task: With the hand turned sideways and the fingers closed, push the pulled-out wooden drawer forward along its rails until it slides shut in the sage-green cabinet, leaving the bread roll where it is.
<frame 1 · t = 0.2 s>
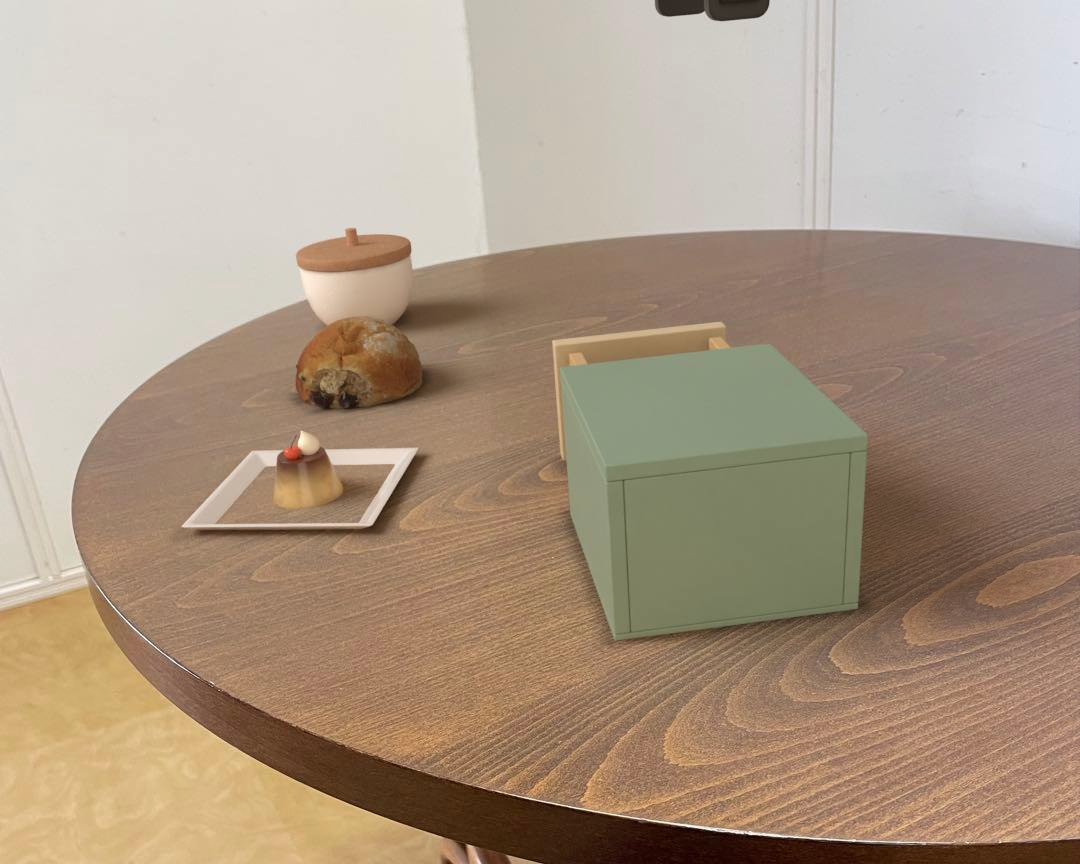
hand: (707, 17, 44), 27 cm above the table, tool pointing down, fingers open, 8 cm apart
trinket box: (365, 329, 109), on the table
bread roll: (362, 397, 91), on the table
dessert: (310, 503, 73), on the table
cabinet: (700, 564, 61), on the table
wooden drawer: (654, 413, 69), point 5 cm above the table, slide at 7.0 cm
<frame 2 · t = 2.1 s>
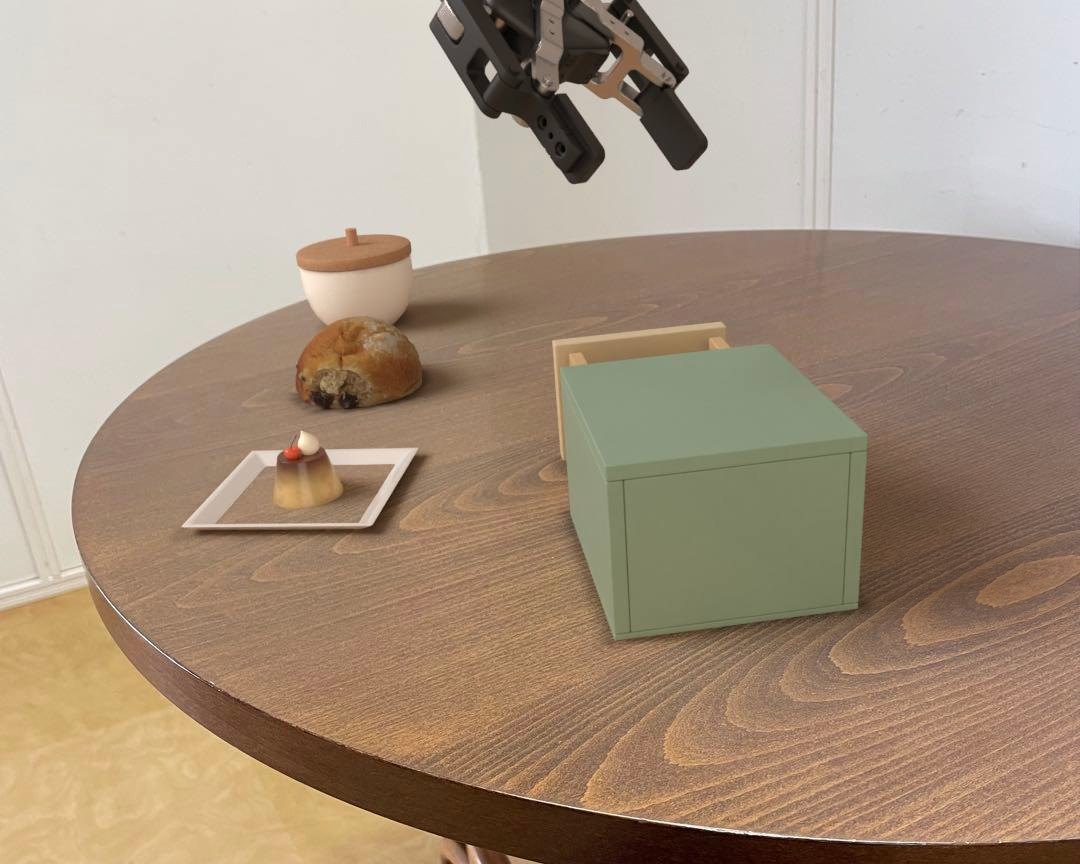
hand: (645, 165, 56), 20 cm above the table, tool tilted 45°, fingers open, 8 cm apart
nothing on the table moved.
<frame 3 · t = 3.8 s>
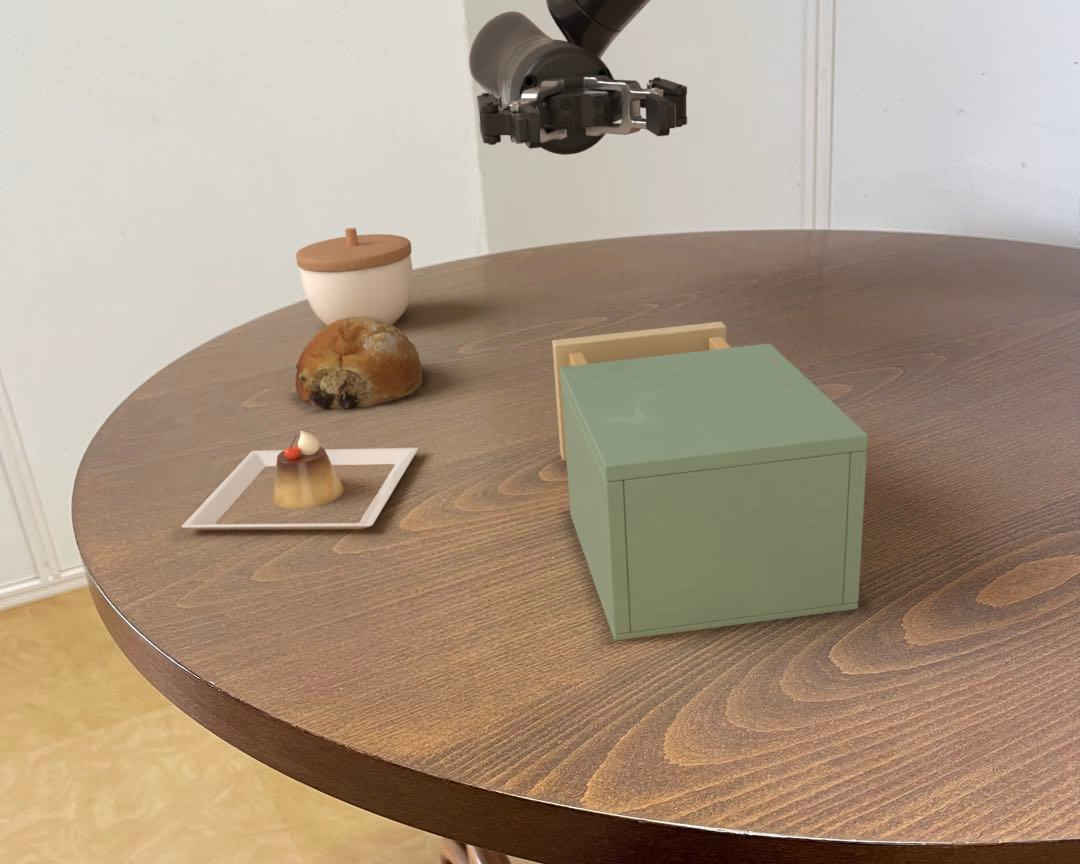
hand: (600, 125, 73), 20 cm above the table, tool horizontal, fingers open, 8 cm apart
nothing on the table moved.
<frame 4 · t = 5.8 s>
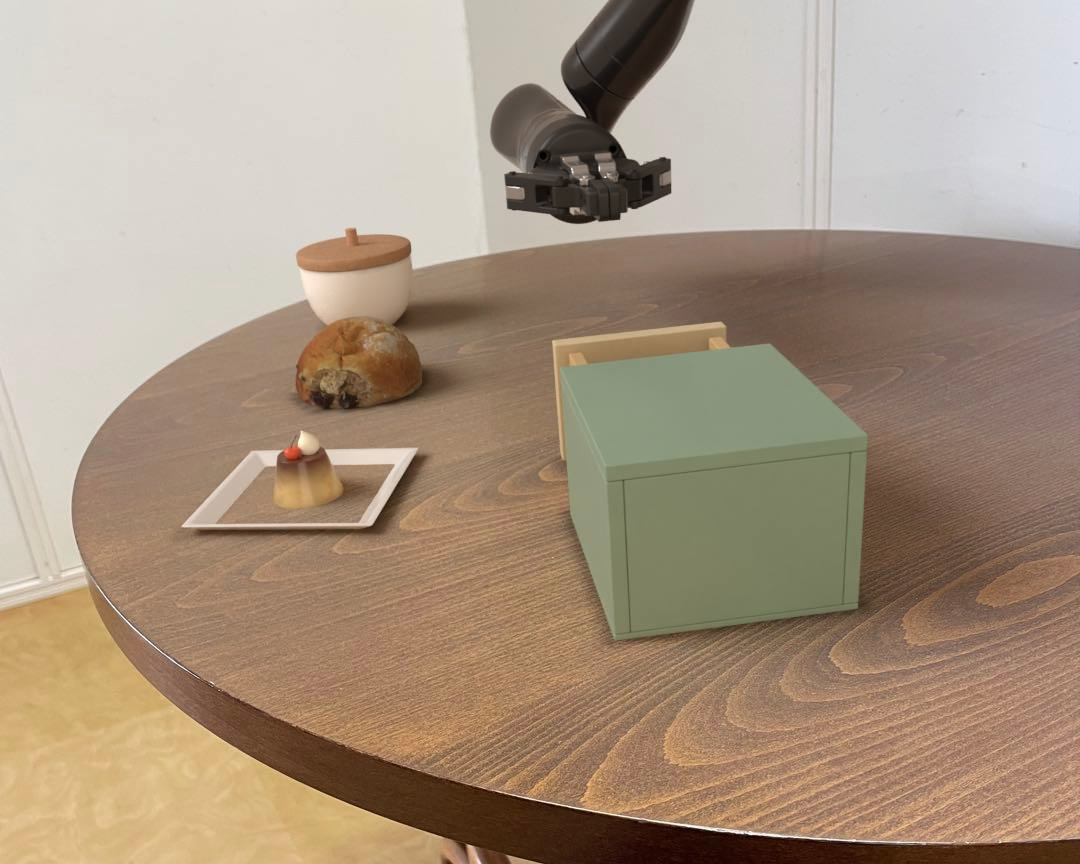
hand: (610, 205, 75), 15 cm above the table, tool horizontal, fingers closed
nothing on the table moved.
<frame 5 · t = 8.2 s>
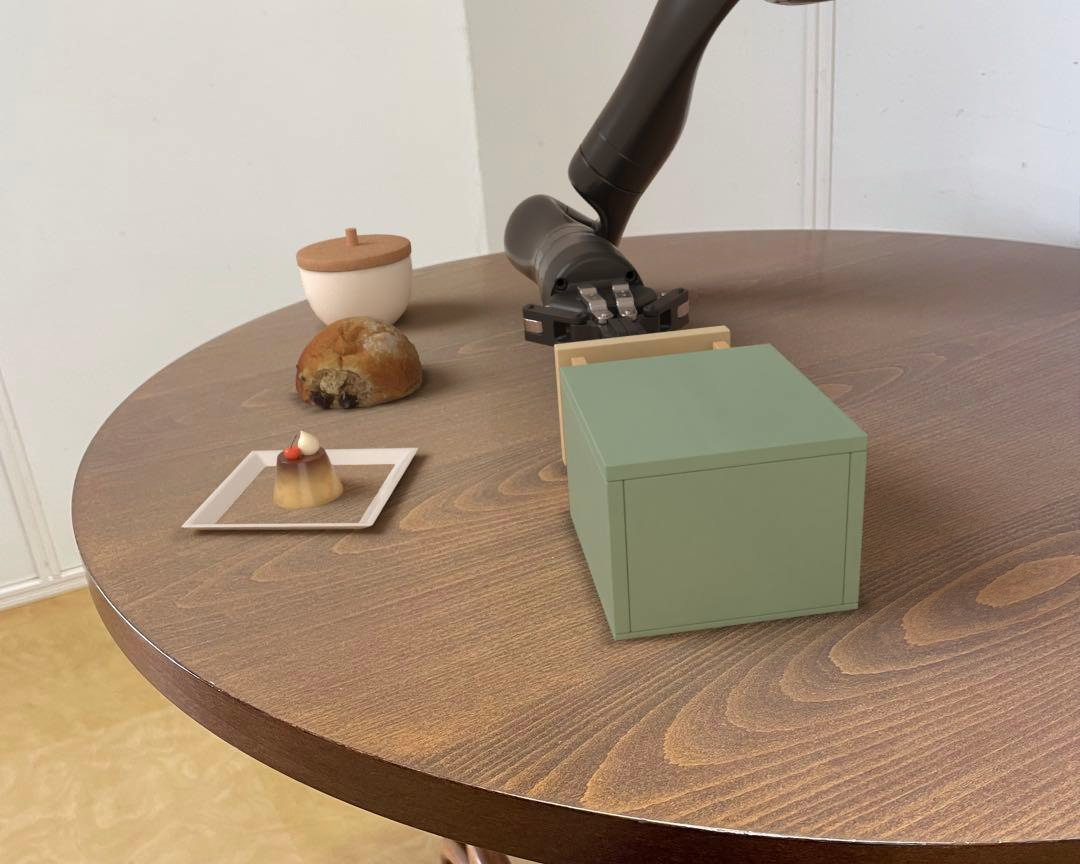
hand: (629, 348, 75), 7 cm above the table, tool horizontal, fingers closed
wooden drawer: (658, 418, 68), point 5 cm above the table, slide at 6.1 cm, touching gripper
everything else where it was.
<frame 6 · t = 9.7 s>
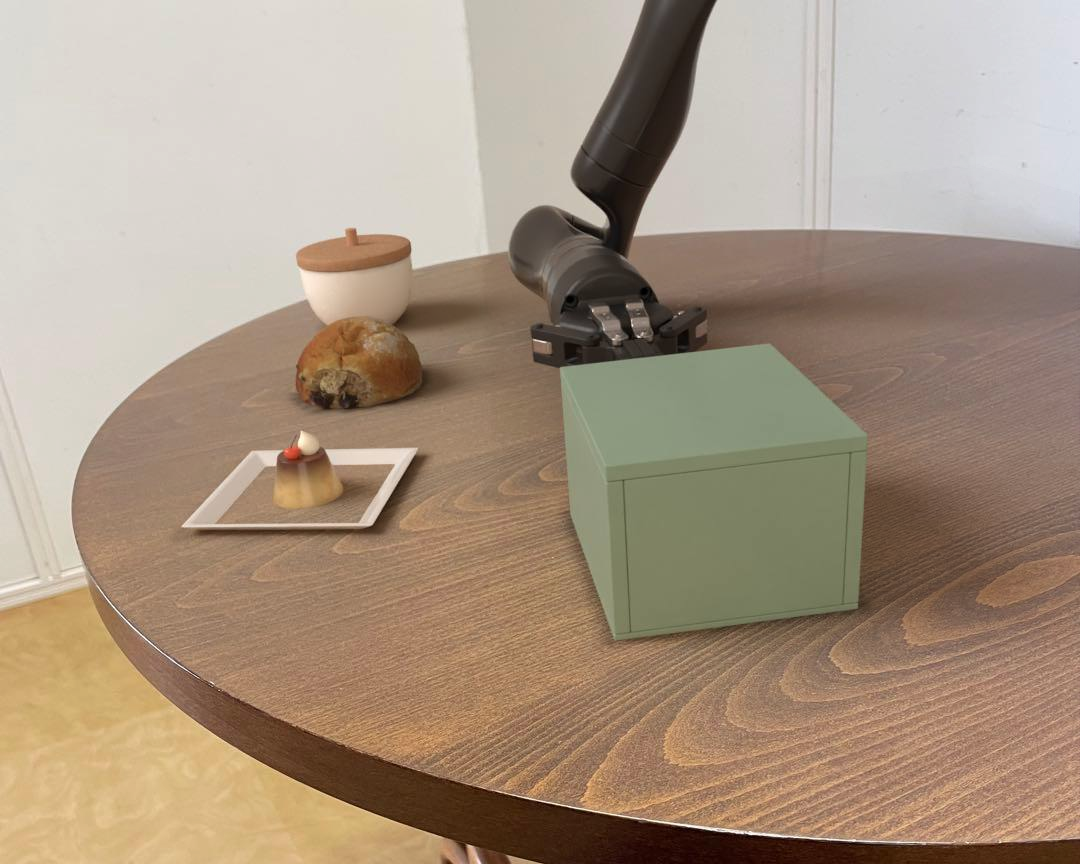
hand: (646, 373, 70), 7 cm above the table, tool horizontal, fingers closed
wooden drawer: (678, 451, 63), point 5 cm above the table, slide at 0.7 cm, touching gripper
everything else where it was.
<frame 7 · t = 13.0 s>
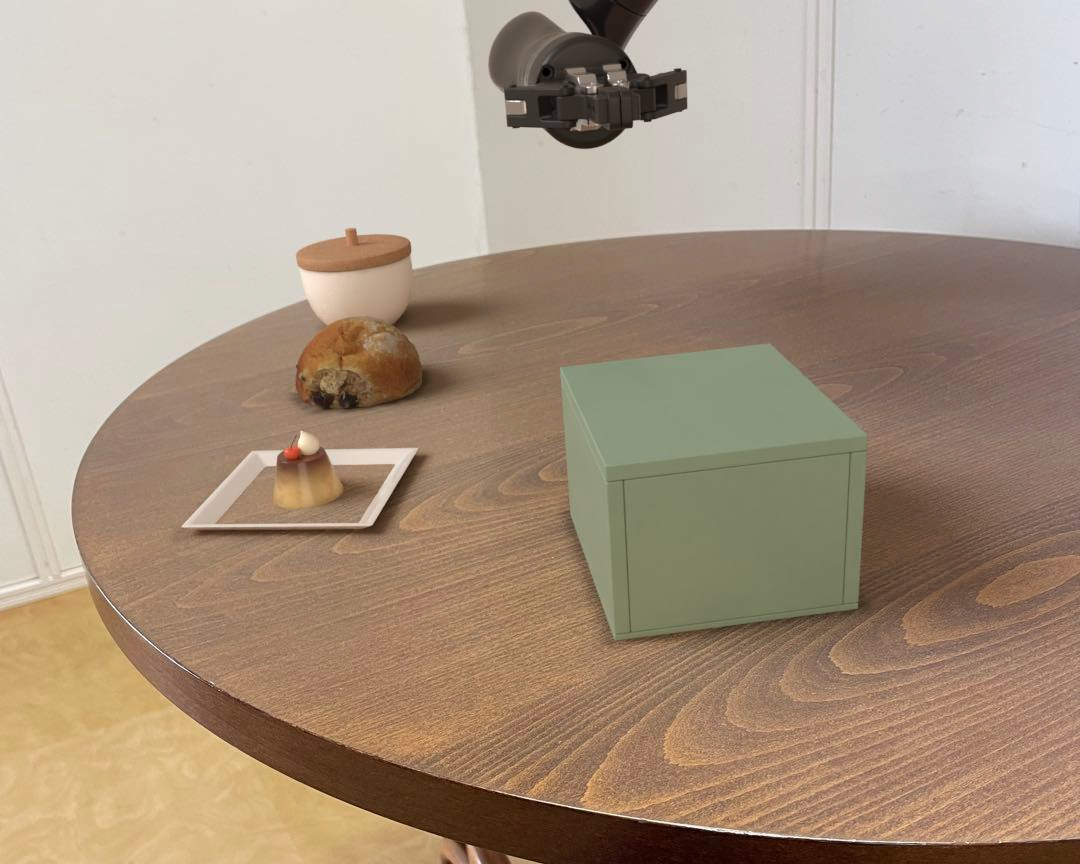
hand: (621, 110, 68), 22 cm above the table, tool horizontal, fingers closed
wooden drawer: (678, 451, 63), point 5 cm above the table, slide at 0.7 cm
everything else where it was.
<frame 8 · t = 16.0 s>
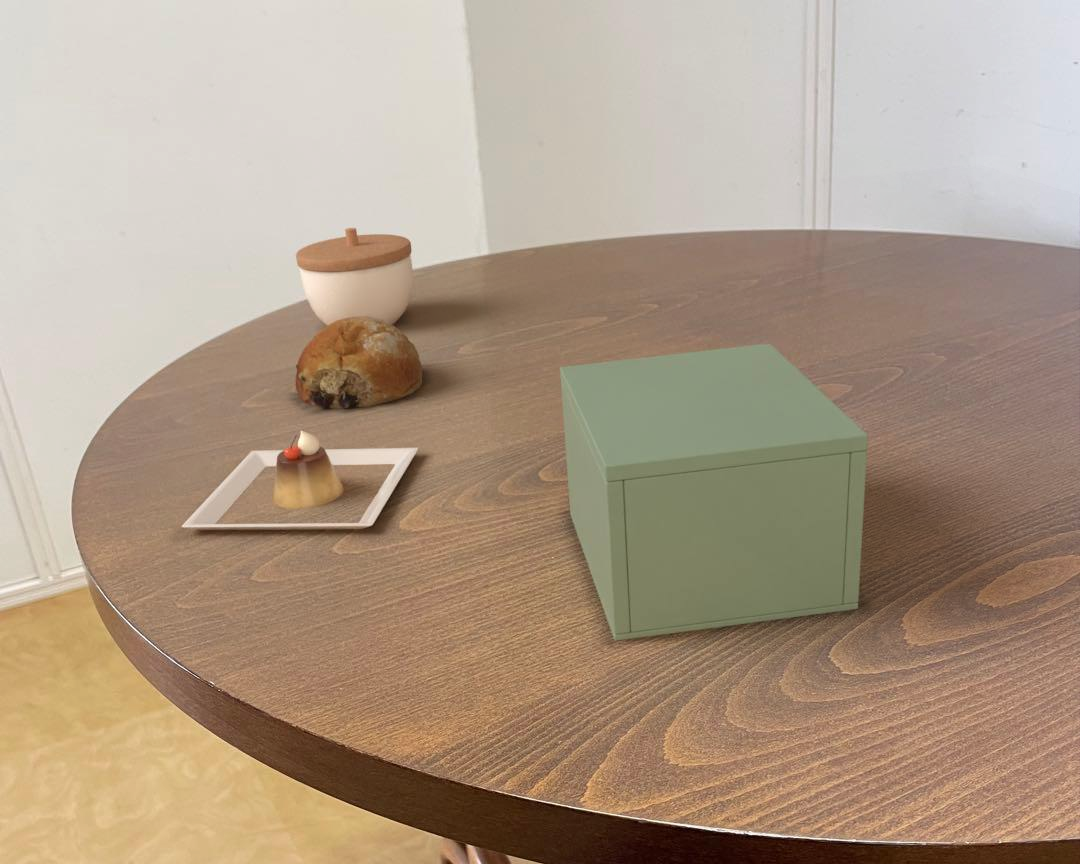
nothing on the table moved.
at the end: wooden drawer slide at 0.7 cm; bread roll moved 0.2 cm from its start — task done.
